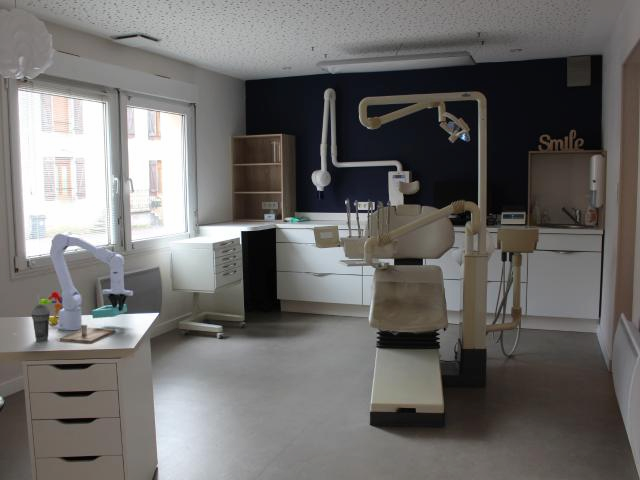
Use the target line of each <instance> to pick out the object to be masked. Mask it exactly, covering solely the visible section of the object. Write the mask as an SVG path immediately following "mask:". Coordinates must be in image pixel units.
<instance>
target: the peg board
mask: <svg viewBox="0 0 640 480" xmlns="http://www.w3.org/2000/svg"><path fill="white" fill-rule="evenodd" d="M81 327H82V328H81V329H78V330H75V331H74V332H71V333H70V334H66V335H63V336H62V337H60V338H59V342H68V343H80V344H93V343H95V342H97V341H99V340H101V339H104V338H107V337H109V336H110V334H111V335H112V334H114V333H117V329H113V328H101V327H100V328H97V327H96V328H95V327H88V325H87V324H82V325H81ZM108 335H109V336H108Z"/></svg>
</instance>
